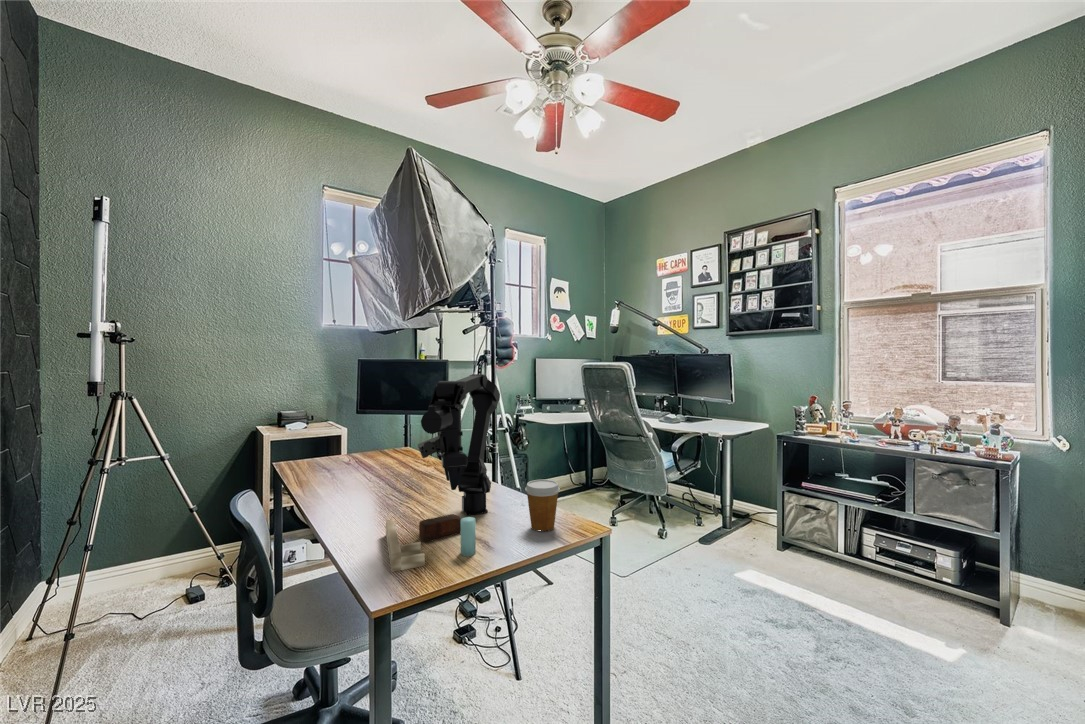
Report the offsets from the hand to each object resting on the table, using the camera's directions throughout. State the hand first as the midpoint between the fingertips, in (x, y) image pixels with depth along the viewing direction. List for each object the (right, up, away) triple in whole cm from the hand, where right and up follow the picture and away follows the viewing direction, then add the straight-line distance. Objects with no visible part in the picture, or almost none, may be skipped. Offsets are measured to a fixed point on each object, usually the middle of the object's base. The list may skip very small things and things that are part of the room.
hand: (451, 484), depth 118 cm
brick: (-2, -13, -3) cm, 13 cm away
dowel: (+7, -12, -14) cm, 20 cm away
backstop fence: (-9, -12, -12) cm, 19 cm away
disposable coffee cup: (+25, -12, +2) cm, 28 cm away
